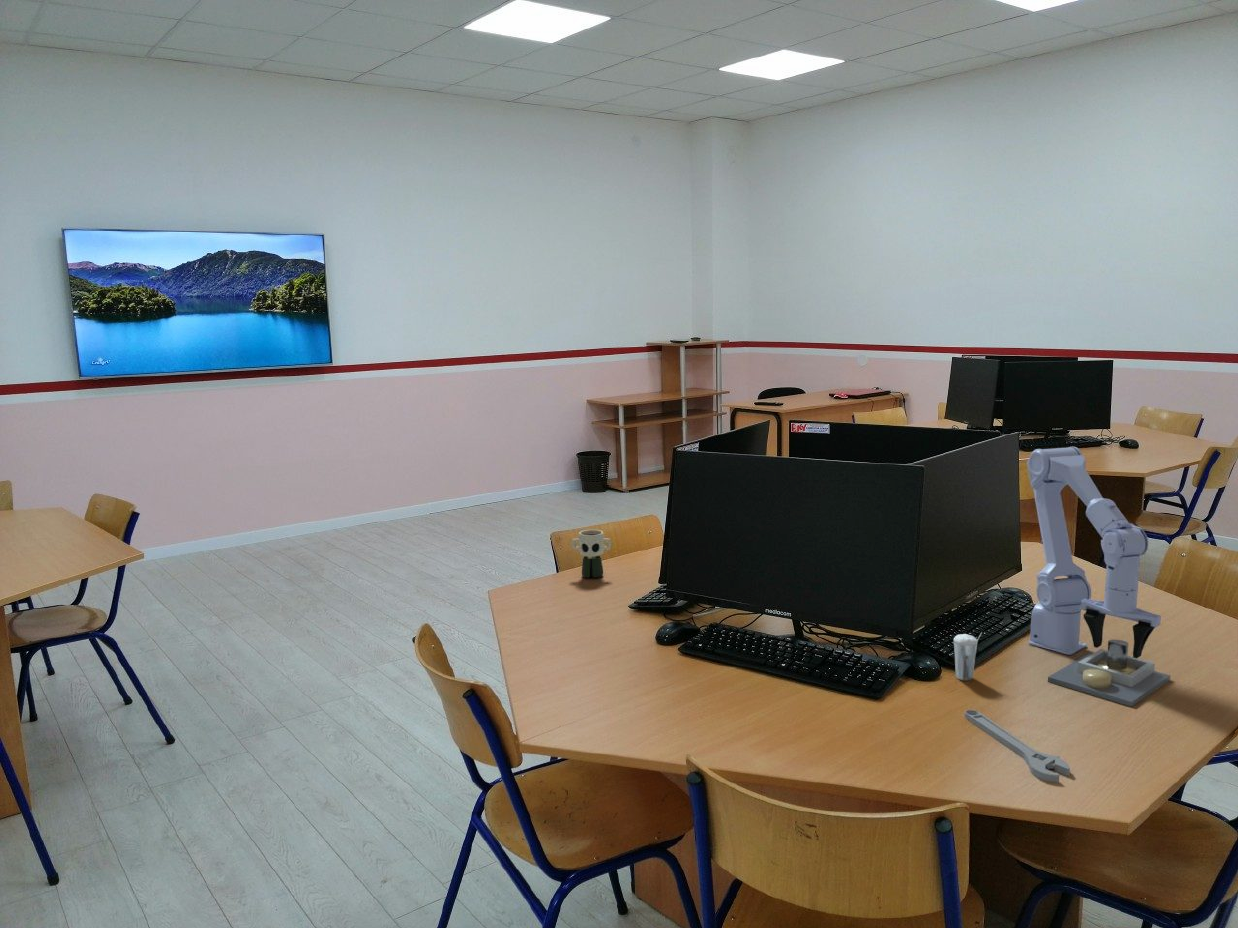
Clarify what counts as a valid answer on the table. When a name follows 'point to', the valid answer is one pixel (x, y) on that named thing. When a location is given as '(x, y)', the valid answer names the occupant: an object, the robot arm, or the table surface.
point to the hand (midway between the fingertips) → (1117, 651)
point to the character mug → (591, 551)
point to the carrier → (1110, 679)
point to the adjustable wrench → (1022, 749)
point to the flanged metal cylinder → (1117, 657)
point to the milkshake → (965, 656)
